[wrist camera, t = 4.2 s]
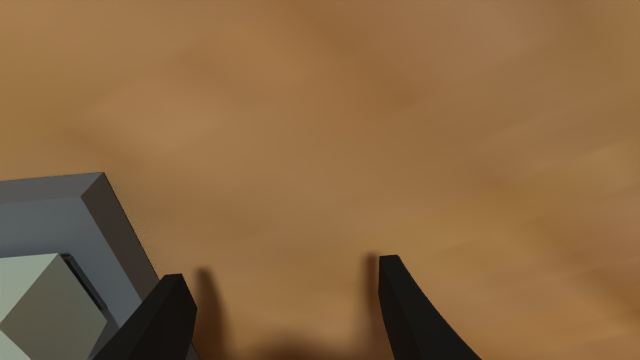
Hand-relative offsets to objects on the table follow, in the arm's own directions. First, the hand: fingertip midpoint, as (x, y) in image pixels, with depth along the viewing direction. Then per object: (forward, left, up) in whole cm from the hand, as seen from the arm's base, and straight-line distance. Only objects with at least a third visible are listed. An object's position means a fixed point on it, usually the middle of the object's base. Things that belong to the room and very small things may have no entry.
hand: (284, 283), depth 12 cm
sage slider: (+10, 0, -1) cm, 10 cm away
